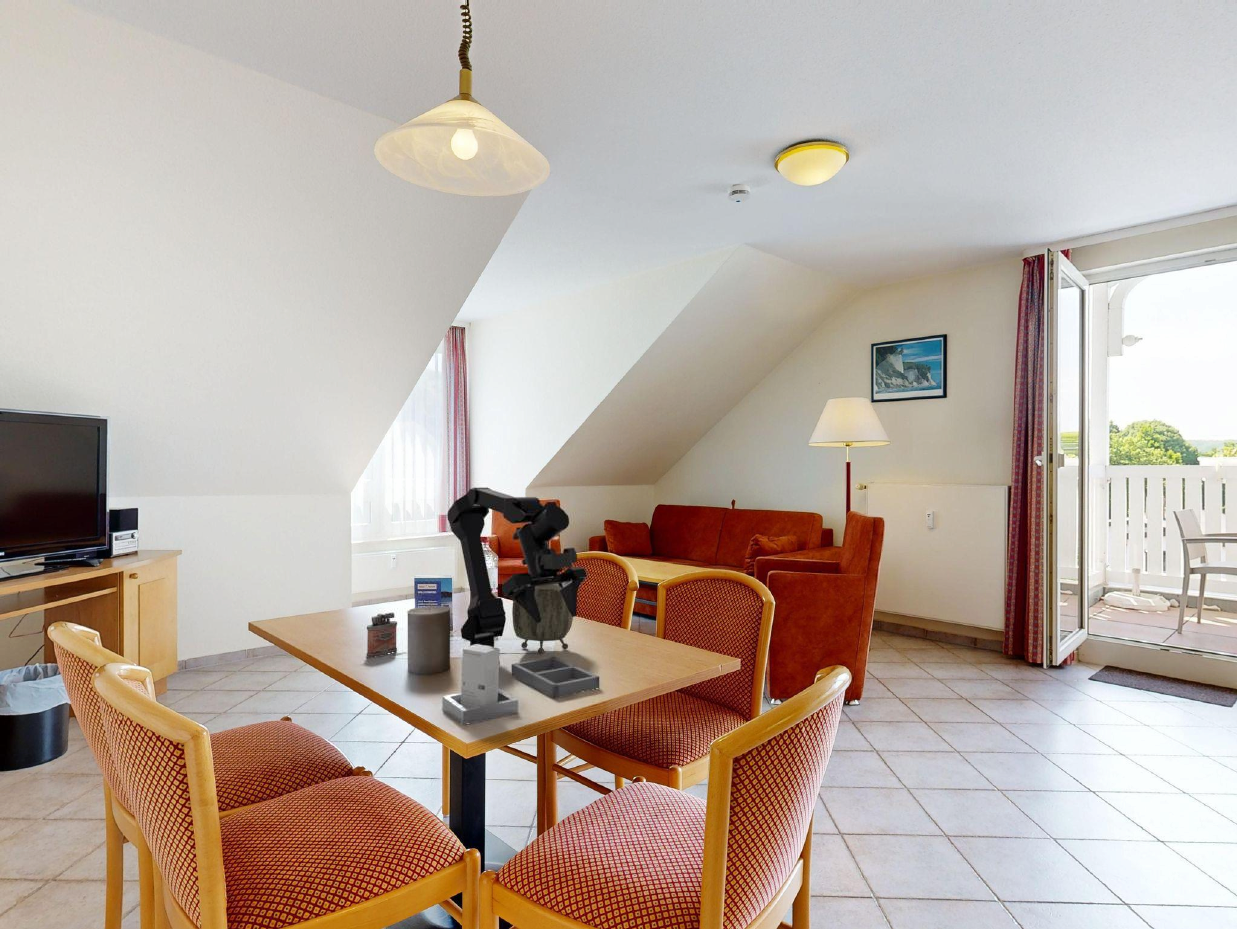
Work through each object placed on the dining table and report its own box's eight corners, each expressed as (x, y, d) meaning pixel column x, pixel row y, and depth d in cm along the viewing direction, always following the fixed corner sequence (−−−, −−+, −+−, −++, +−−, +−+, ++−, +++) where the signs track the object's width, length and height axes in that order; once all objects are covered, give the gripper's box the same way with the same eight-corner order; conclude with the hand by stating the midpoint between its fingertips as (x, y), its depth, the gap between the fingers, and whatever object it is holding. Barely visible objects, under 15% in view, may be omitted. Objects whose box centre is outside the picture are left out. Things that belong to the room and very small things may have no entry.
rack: (511, 675, 153) (511, 664, 153) (553, 667, 160) (553, 656, 160) (554, 698, 138) (554, 685, 138) (599, 688, 144) (599, 676, 144)
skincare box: (459, 712, 130) (459, 648, 130) (475, 705, 134) (475, 643, 134) (484, 718, 127) (485, 652, 127) (499, 710, 130) (500, 647, 131)
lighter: (371, 658, 166) (371, 617, 166) (363, 656, 168) (364, 615, 169) (399, 651, 173) (400, 612, 173) (391, 649, 175) (392, 610, 175)
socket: (442, 709, 131) (442, 696, 131) (494, 698, 137) (495, 686, 137) (463, 725, 123) (463, 711, 123) (517, 713, 129) (518, 699, 129)
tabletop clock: (573, 648, 177) (574, 552, 177) (567, 657, 168) (568, 556, 168) (518, 646, 179) (519, 551, 179) (509, 655, 170) (510, 555, 170)
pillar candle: (458, 664, 161) (458, 601, 162) (436, 676, 152) (436, 608, 152) (421, 662, 164) (421, 599, 164) (398, 673, 155) (398, 606, 155)
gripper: (518, 537, 136) (541, 611, 130) (590, 532, 148) (613, 599, 143) (492, 559, 143) (512, 631, 137) (562, 552, 155) (583, 618, 150)
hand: (557, 619), depth 141 cm, fingers open, 9 cm apart
